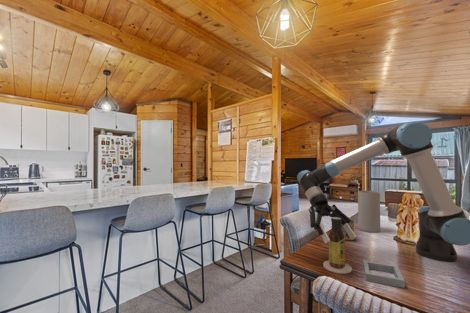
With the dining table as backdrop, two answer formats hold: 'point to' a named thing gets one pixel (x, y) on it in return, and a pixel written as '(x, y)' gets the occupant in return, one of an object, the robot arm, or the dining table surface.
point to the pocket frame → (383, 279)
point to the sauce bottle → (336, 244)
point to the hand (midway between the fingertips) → (341, 240)
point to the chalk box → (345, 231)
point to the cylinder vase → (369, 211)
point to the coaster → (345, 270)
